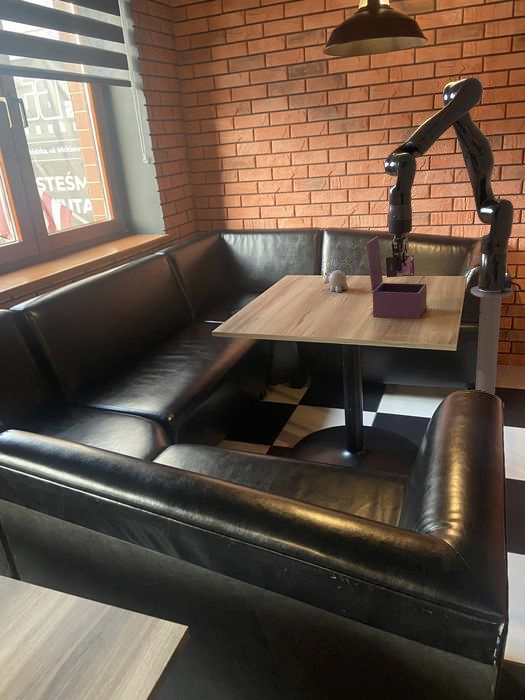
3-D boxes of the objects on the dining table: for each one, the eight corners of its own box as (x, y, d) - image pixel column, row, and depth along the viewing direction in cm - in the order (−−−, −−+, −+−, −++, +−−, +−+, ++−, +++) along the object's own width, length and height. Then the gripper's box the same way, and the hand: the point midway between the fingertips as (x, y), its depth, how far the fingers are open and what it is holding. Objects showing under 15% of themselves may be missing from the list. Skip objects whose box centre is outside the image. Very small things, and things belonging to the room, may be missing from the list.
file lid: (378, 236, 187) (376, 236, 187) (368, 242, 176) (366, 243, 177) (382, 281, 192) (381, 281, 192) (373, 291, 182) (371, 291, 182)
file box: (426, 308, 188) (426, 283, 185) (419, 319, 178) (419, 293, 175) (382, 306, 195) (382, 282, 192) (373, 316, 185) (372, 292, 182)
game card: (386, 257, 180) (413, 255, 178) (385, 259, 185) (411, 257, 183) (386, 277, 180) (414, 275, 178) (385, 278, 185) (412, 277, 183)
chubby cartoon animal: (330, 286, 229) (329, 266, 226) (350, 289, 220) (349, 269, 217) (318, 289, 225) (316, 270, 222) (338, 294, 216) (337, 273, 213)
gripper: (407, 220, 168) (406, 274, 174) (416, 214, 179) (415, 264, 185) (383, 221, 171) (383, 273, 177) (393, 214, 183) (394, 264, 189)
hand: (400, 268), depth 181 cm, fingers closed on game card, 4 cm apart
